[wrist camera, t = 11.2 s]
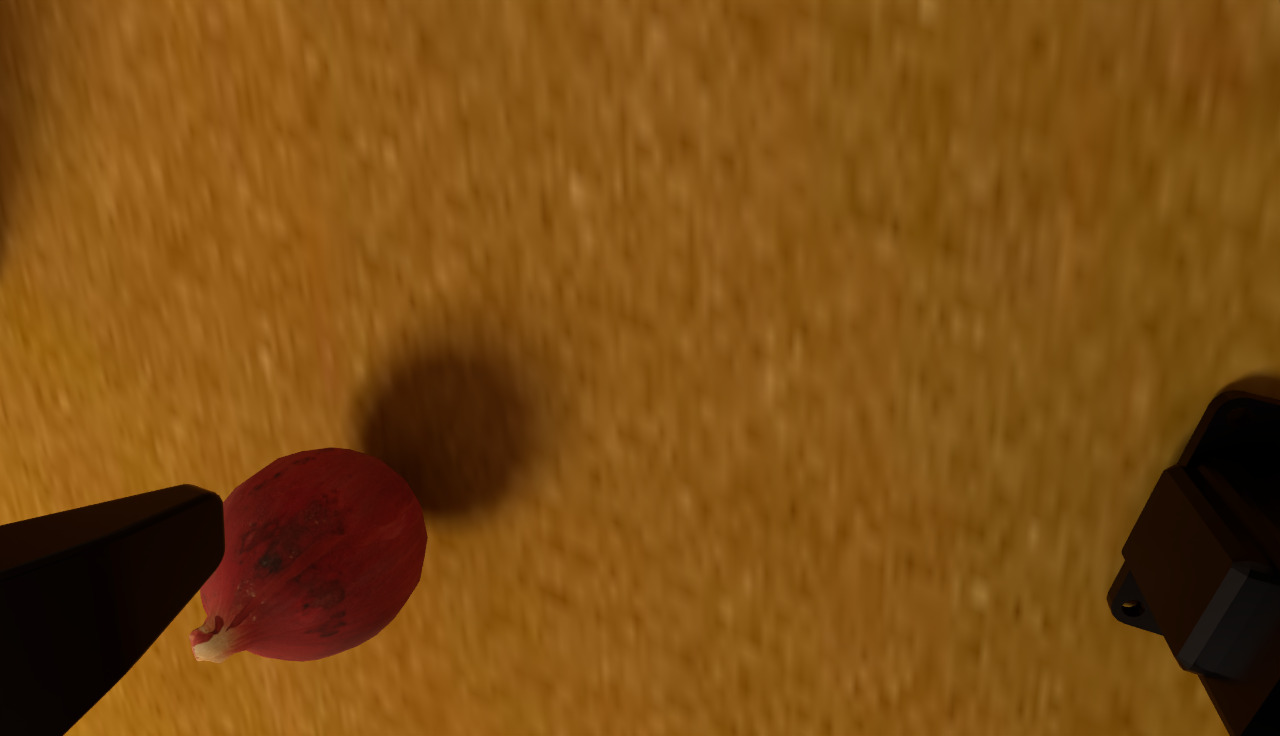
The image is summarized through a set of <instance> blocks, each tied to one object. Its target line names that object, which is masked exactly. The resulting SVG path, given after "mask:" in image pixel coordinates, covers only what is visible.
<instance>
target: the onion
mask: <svg viewBox="0 0 1280 736" xmlns="http://www.w3.org/2000/svg"><path fill="white" fill-rule="evenodd" d="M223 510H224V529H225V553H224V557H223V559H222V562H221V563H220V565H219V567H218V568H217V570H216V571H215V572H214V573H213V574H212V576H211V577H210V578H209V579H208V580H207V581H206V582H205V584H204V585H203V586H202V587H201V588H200V591H201V599H202V603H203V607H204V609H205V611H206V613H207V616H208V617H207V618H206V620H205V622H204V624H203V625H202V626H201V627H199V628H197V629H195V630H193V631H192V632H191V634H190V635H189V638H190V641H191V645H192V650H193V654H194V656H195V658H196V660H197V661H212V662H216V663H222V662H223V661H224V660H226V659H227V658H228V657H230V656H231V655H232V654H234V653H237V652H241V651H245V650H247V651H249V652H252V653H254V654H257V655H260V656H263V657H267V658H274V659H281V660H288V661H310V660H318V659H322V658H325V657H328V656H332V655H335V654H338V653H340V652H343V651H346V650H348V649H351V648H353V647H356V646H358V645H360V644H362V643H363V642H365V641H367V640H369V639H370V638H372V637H374V636H375V635H377V634H378V633H379V632H380V631H381V630H382V629H383V628H384V627H386V626H387V625H388V624H389V623H390V622H391V621H392V620H393V619H394V618H395V617H396V615H397V614H398V612H399V611H400V610H401V608H402V607H403V606H404V604H405V603H406V602H407V600H408V599H409V597H410V595H411V594H412V592H413V591H414V589H415V587H416V586H417V584H418V583H419V581H420V577H421V572H422V567H423V561H424V556H425V550H426V544H427V538H428V537H427V532H426V527H425V522H424V517H423V512H422V508H421V506H420V503H419V501H418V499H417V498H416V496H415V495H414V493H413V491H412V490H411V488H410V487H409V485H408V483H407V482H406V480H405V479H403V478H402V477H401V476H400V475H399V474H397V473H396V472H395V471H394V470H392V469H391V468H390V467H389V466H388V465H386V464H385V463H384V462H383V461H381V460H380V459H379V458H376V457H373V456H369V455H366V454H363V453H360V452H356V451H353V450H350V449H341V448H324V449H316V450H309V451H302V452H298V453H295V454H291V455H288V456H285V457H281V458H278V459H277V460H275V461H274V462H272V463H271V464H269V465H268V466H266V467H265V468H263V469H262V470H260V471H259V472H258V473H256V474H255V475H253V476H252V477H250V478H249V479H248V480H246V481H245V482H243V483H242V484H241V485H239V486H238V487H236V488H235V489H234V490H233V492H232V493H231V494H230V495H229V496H228V497H227V499H226V500H225V501H224V502H223Z"/></svg>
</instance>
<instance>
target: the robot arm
mask: <svg viewBox="0 0 1280 736" xmlns="http://www.w3.org/2000/svg"><path fill="white" fill-rule="evenodd" d="M1238 407H1240V408H1246V412H1245V415H1244V416H1243V417H1242V418H1241V419H1238V420H1235V421H1227V420H1226V419H1227V415H1228V413H1229V412H1230V411H1231V410H1233V409H1236V408H1238ZM224 553H225V529H224V510H223V502H222V500H221V498H220V496H219V495H217V494H216V493H215V492H212V491H209V490H206V489H203V488H201V487H198V486H195V485H190V484H183V485H178V486H174V487H169V488H165V489H160V490H156V491H151V492H147V493H143V494H138V495H134V496H129V497H125V498H120V499H116V500H111V501H107V502H103V503H98V504H94V505H89V506H85V507H80V508H76V509H72V510H67V511H63V512H58V513H54V514H49V515H45V516H41V517H36V518H32V519H27V520H23V521H18V522H14V523H10V524H5V525H1V526H0V736H63V735H64V734H65V733H66V732H67V731H68V730H69V729H70V728H71V727H72V726H73V725H74V724H75V723H76V722H78V721H79V720H80V719H81V718H82V717H83V716H84V715H85V714H86V713H87V712H88V711H89V710H90V709H91V708H92V707H93V706H94V705H95V704H96V703H97V702H98V701H99V700H100V699H101V698H102V697H103V696H104V695H105V694H106V693H107V692H108V691H109V690H110V689H111V688H112V687H113V686H114V685H115V684H116V683H117V682H118V681H119V680H120V679H121V678H122V677H123V676H124V675H125V674H126V673H127V672H128V671H129V670H130V669H131V668H132V666H133V665H134V664H135V663H136V662H137V661H138V660H139V659H140V658H141V657H142V655H143V654H144V653H145V652H146V651H147V650H148V649H149V647H150V646H151V645H152V644H153V643H154V642H155V640H156V639H157V638H158V637H159V636H160V635H161V633H162V632H163V631H164V630H165V629H166V628H167V627H168V625H169V624H170V623H171V622H172V621H173V620H174V618H175V617H176V616H177V615H178V614H179V613H180V611H181V610H182V609H183V608H184V607H185V606H186V604H187V603H188V602H189V601H190V600H191V599H192V598H193V596H194V595H195V594H196V593H197V592H198V591H199V589H200V588H201V587H202V586H203V585H204V584H205V582H206V581H207V580H208V579H209V578H210V577H211V576H212V574H213V573H214V572H215V571H216V570H217V568H218V567H219V565H220V563H221V562H222V559H223V557H224ZM1122 555H1123V557H1124V559H1125V562H1124V564H1123V566H1122V568H1121V569H1120V571H1119V573H1118V575H1117V577H1116V579H1115V581H1114V582H1113V584H1112V586H1111V588H1110V590H1109V592H1108V595H1107V602H1108V605H1109V608H1110V610H1111V612H1112V615H1113V616H1114V617H1115V618H1116V619H1117V620H1118V621H1120V622H1122V623H1124V624H1127V625H1130V626H1134V627H1137V628H1140V629H1143V630H1147V631H1150V632H1153V633H1156V634H1160V635H1163V636H1164V638H1165V640H1166V642H1167V644H1168V645H1169V647H1170V649H1171V651H1172V653H1173V655H1174V657H1175V659H1176V661H1177V662H1178V664H1179V666H1180V667H1181V668H1182V669H1183V670H1185V671H1188V672H1191V673H1194V674H1197V675H1198V677H1199V678H1200V680H1201V682H1202V684H1203V686H1204V688H1205V690H1206V692H1207V693H1208V695H1209V697H1210V699H1211V701H1212V703H1213V705H1214V707H1215V709H1216V710H1217V712H1218V714H1219V716H1220V718H1221V720H1222V722H1223V724H1224V726H1225V727H1226V729H1227V731H1228V733H1229V735H1230V736H1280V400H1276V399H1272V398H1268V397H1264V396H1260V395H1256V394H1252V393H1248V392H1244V391H1229V392H1225V393H1222V394H1220V395H1219V396H1217V397H1215V398H1214V399H1213V400H1212V401H1211V403H1210V404H1209V405H1208V407H1207V409H1206V411H1205V413H1204V415H1203V416H1202V418H1201V420H1200V422H1199V424H1198V426H1197V428H1196V430H1195V431H1194V433H1193V435H1192V437H1191V439H1190V441H1189V443H1188V444H1187V446H1186V448H1185V450H1184V452H1183V454H1182V456H1181V458H1180V459H1179V461H1178V463H1177V464H1175V465H1173V466H1171V467H1170V468H1168V469H1166V470H1164V471H1163V473H1162V475H1161V477H1160V479H1159V481H1158V483H1157V484H1156V486H1155V488H1154V490H1153V492H1152V494H1151V496H1150V498H1149V499H1148V501H1147V503H1146V505H1145V507H1144V509H1143V511H1142V513H1141V515H1140V516H1139V518H1138V520H1137V522H1136V524H1135V526H1134V528H1133V530H1132V532H1131V533H1130V535H1129V537H1128V539H1127V541H1126V543H1125V545H1124V547H1123V549H1122ZM1130 600H1137V601H1140V602H1139V603H1138V604H1137V605H1136V606H1133V607H1124V606H1122V605H1123V604H1124V603H1125V602H1127V601H1130Z"/></svg>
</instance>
